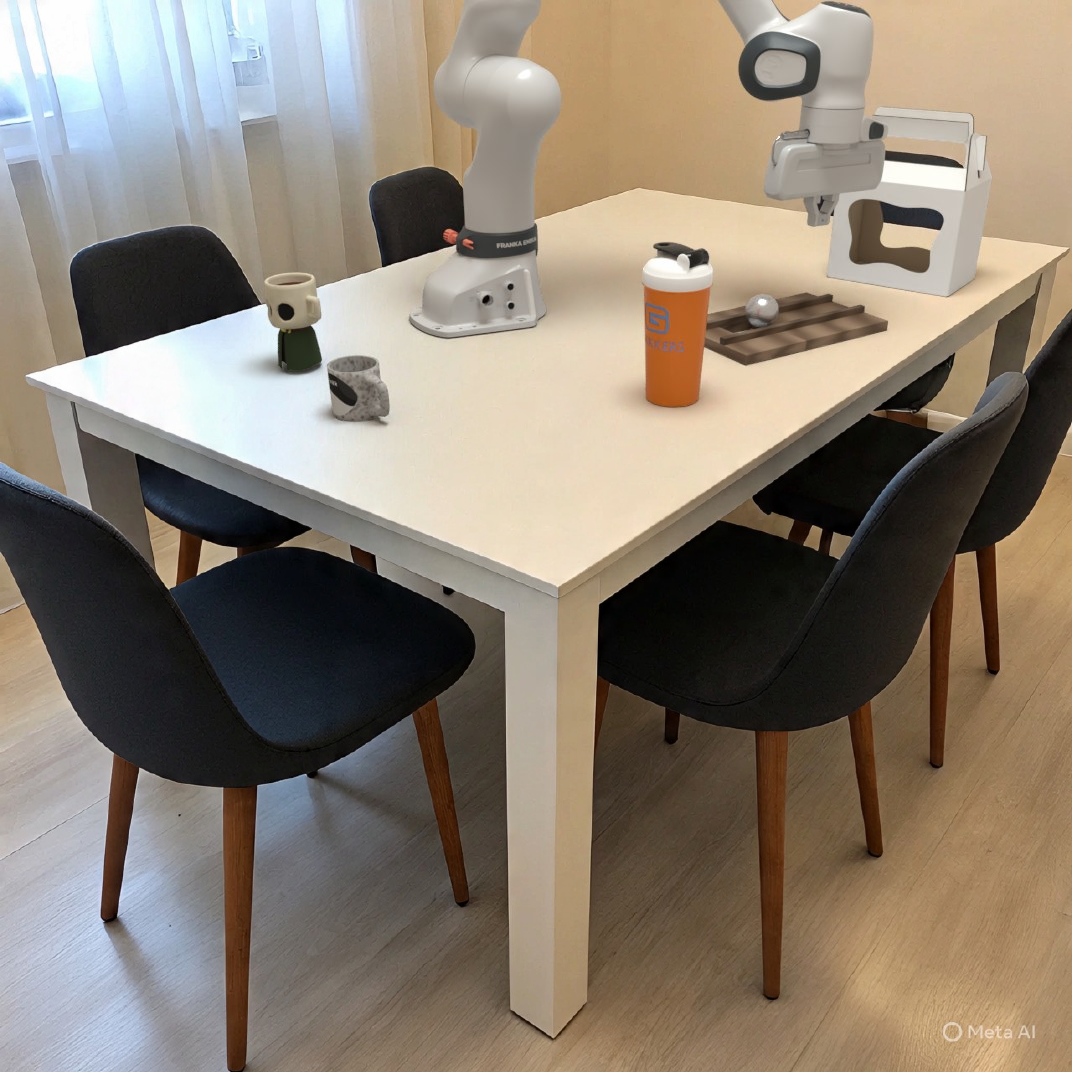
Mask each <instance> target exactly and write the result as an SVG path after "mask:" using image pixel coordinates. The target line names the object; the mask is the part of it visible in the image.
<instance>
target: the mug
mask: <svg viewBox="0 0 1072 1072" xmlns="http://www.w3.org/2000/svg"><path fill="white" fill-rule="evenodd" d="M380 369H381V367H380V362H379V360H378V358H375V357H373V356H370V355H364V354H363V355H361V354H359V355H357V354H355V355H346V356H341V357H337V358H335V359H333V360H331V361H329V362H328V363H327V365H326V371H327V377H328V385H329V387H328V388H329V394H330V402H331V409H332V416H333V417H334V418H335V419H337V420H339V421H343V422H348V423H352V422H353V423H357V422H366V421H370V420H373V419H376V418H378V417H380V418H385V417H388V415H389V414H390V396H389V395H390V394H389V390H388V387H387V386H388V385H386V383H385V382H384V381H383V380H382V377H381V371H380Z"/></svg>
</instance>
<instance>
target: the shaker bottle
mask: <svg viewBox="0 0 1072 1072" xmlns="http://www.w3.org/2000/svg"><path fill="white" fill-rule="evenodd" d="M652 248H653V249H654V250H656V251H657V253H656V255H655V256H654V257H652V258H651V259H649V260H648V261H647V262H646V263H645V265H644V266H643V268H642V281H641V282H642V283H641V284H642V285H643V297H644V298H643V301H644V302H643V306H644V311H643V313H644V314H643V315H644V359H645V360H644V365H645V398H646V400H647V401H649V402H650V403H651V404H653V405H655V406H661V407H666V408H682V407H687V406H690V405H693V404H695V403H696V402H697V401H698V400H699V397H700V390H701V379H702V370H703V361H704V352H705V347H704V344H705V335H706V325H707V316H708V314H709V307H710V306H709V304H710V296H711V287H712V286H713V285H714V281H713V280H714V268H713V267H712V265H711V263H710V259H711V258H710V257H711V256H710V253H709V251H708V250H707V249H706V248H704V247H702V248H698V249H694V248H691V247H689V246H687V245H685V244H682V243H678V242H672V241H665V242H664V241H662V242H657V243H654V244H653V245H652Z"/></svg>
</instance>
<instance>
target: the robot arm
mask: <svg viewBox="0 0 1072 1072" xmlns="http://www.w3.org/2000/svg"><path fill="white" fill-rule="evenodd" d="M717 1H718V3H719V4H720V6H721V7H722V9H723V11H724V12H725V14H726V15H727V17H728V19H729V21H730V22H731V23H732V24H733V27H734V28H735V30H736V31H737V33H738V34H739V36H740V37H741V41H742V42H743V46H744V48H743V50H742V51H741V53H740V56H739V59H738V67H737V68H738V69H737V70H738V71H737V72H738V76H739V81H740V84H741V85H742V87H743V89H744V90H745V91H746V92H747V93H748V94H749V95H750V96H752V97H753V98H755V99H757V100H760V101H762V102H767V103H775V102H780V101H782V100H785V99H786V100H787V99H792V98H797V97H800V99H801V105H800V106H801V109H800V117H799V126H798V130H794V131H789V130H787V131H782V132H781V133H780V135H779V136H777V137H776V138H775V140H774V141H772V145H771V153H770V155H769V159H768V162H767V166H766V171H765V177H764V183H763V193H764V194H765V196H766V197H767V198H769V199H772V200H776V201H780V202H782V201H790V200H797V199H798V200H799V199H803V200H802V202H803V204H804V207H805V209H806V213H807V222H806V224H807V225H808V226H809V227H812V228H814V227H822V226H828V225H829V224H830V223H831V215H832V214H833V212H834V208H835V206H836V205H837V203H838V201H839V195H840V193H848V192H856V191H865V190H873V189H876V188H877V186H878V185H879V183H880V182H881V179H882V174H883V168H884V161H885V160H886V145H885V142H884V141H883V140H885V139H887V137H888V136H887V134H888V125H887V124H885V123H883V122H880V121H878V120H875V119H873V118H872V117H870V116H867V115H865V109H866V97H865V89H866V84H867V81H868V79H869V77H870V75H871V74H870V73H871V68H872V59H873V58H872V57H873V50H874V48H873V47H874V35H875V34H874V33H875V32H874V22H873V19H872V17H871V16H870V14H869V12H867V11H866V10H865V9H864V8H862V7H861V6H856V5H852V4H850V3H844V2H840V1H839V2H838V1H833V0H825V1H821V2H819V4H818V5H816V6H815V7H813V8H812V9H810V10H809V11H807V12H805V13H803V14H802V15H799V16H798V17H796V18H793V19H792V20H790V19H789V18H788V17H786V16H785V15H784V14H783V13H782V12H781V11H780V10H779V8H778V7H777V5H776V4H775V2H774V1H773V0H717ZM541 5H542V0H463V4H462V9H461V13H460V18H459V23H458V25H457V29H456V33H455V36H454V38H453V42H452V44H451V48H450V50H449V53H448V54H447V57H446V58H445V60H444V61H443V62H442V63H441V64H440V65H439V67H438V69H437V71H436V73H435V76H434V80H433V89H432V90H433V96H434V100H435V103H436V105H437V107H438V108H439V109H440V111H441V112H442V113H443V114H444V115H445V116H446V117H448V118H449V119H450V120H452V121H453V122H455V123H457V125H460V126H462V127H465V128H468V129H472V130H476V131H477V132H476V133H477V134H476V135H477V137H476V143H475V150H474V153H473V158H472V161H471V163H470V165H469V166H468V167H467V168H466V170H465V171H464V173H463V176H462V177H463V178H462V192H463V207H464V208H463V209H464V224H463V226H462V229H460V231H459V232H458V231H455V230H453V229H451V228H448V229H445V230H444V232H443V236H442V237H443V240H445V242H447V243H449V244H452V245H453V244H455V246H456V247H455V250H456V251H455V252H454V253H453V254H451V256H449V257H448V259H447V260H445V262H443V264H442V265H440V267H438V268H437V269H436V270H435V271H434V272H433V273H432V274H431V275H430V276H429V277H428V278H427V279H426V280H425V283H424V285H423V290H422V303H421V304H422V305H421V307H418V308H414V309H412V310H410V312H409V322H410V323H411V324H412V325H413V326H414V327H416V328H417V329H419V330H420V331H423V332H424V333H426V334H430V335H432V336H436V337H441V338H456V337H465V336H471V335H479V334H487V333H494V332H502V331H510V330H516V329H517V330H518V329H525V328H531V327H535V326H536V325H537V323H538V320H539V319H541V318H542V317H544V315H545V314H546V313H547V307H546V305H545V301H544V298H543V294H542V289H541V284H540V277H539V272H538V271H539V270H538V264H537V263H538V262H537V257H538V252H539V235H538V233H539V232H538V224H537V223H536V222H535V178H536V168H537V162H538V160H539V159H538V158H539V153H540V151H541V148H542V144H543V140H544V138H545V136H546V135H547V133H548V132H549V131H550V130H551V129H552V128H553V127H554V125H555V123H556V122H557V120H558V119H559V115H560V112H561V108H562V91H561V88H560V84H559V82H558V80H557V78H556V77H555V75H553V73H551V71H549V70H548V69H546V68H545V67H543V66H541V65H539V64H538V63H536V62H534V61H532V60H530V59H527V58H524V57H523V58H522V57H518V55H519V51H520V48H521V46H522V43H523V40H524V38H525V35H526V33H527V31H528V29H529V28H530V26H531V25H532V24H533V23H534V22H535V21H536V20H537V18H538V16H539V14H540V11H541ZM821 200H824V201H823V203H822V205H821V207H820V210H819V207H818V204H821Z"/></svg>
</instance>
